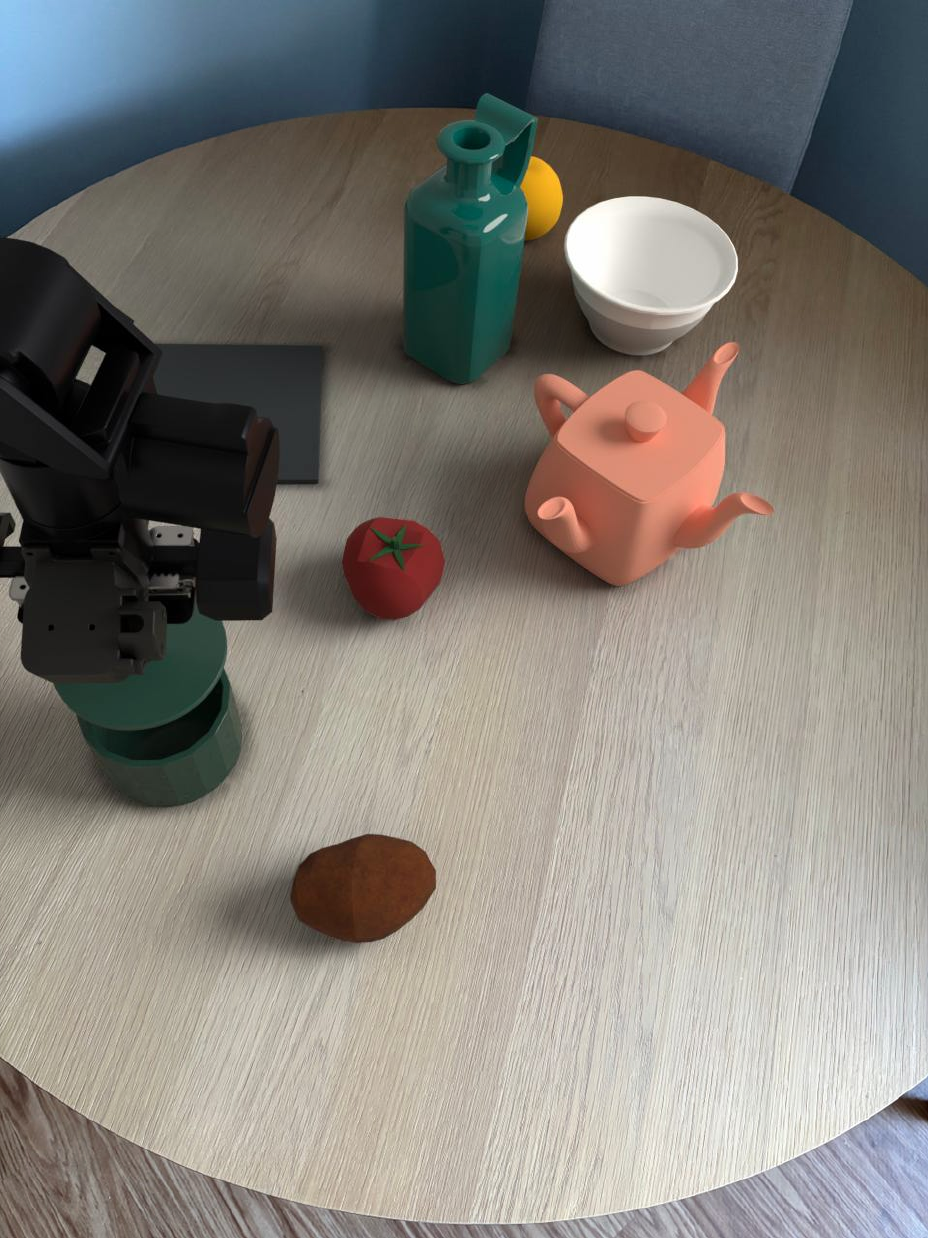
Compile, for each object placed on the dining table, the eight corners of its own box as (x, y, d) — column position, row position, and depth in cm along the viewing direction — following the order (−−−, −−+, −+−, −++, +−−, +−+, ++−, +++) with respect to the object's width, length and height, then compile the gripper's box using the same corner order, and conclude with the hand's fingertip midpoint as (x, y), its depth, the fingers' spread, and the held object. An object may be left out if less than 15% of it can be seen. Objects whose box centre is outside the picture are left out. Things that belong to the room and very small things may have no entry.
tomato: (453, 566, 86) (458, 512, 80) (421, 646, 82) (423, 595, 76) (361, 539, 87) (359, 483, 81) (325, 616, 83) (320, 564, 77)
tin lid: (40, 736, 64) (13, 694, 60) (67, 587, 70) (44, 537, 65) (222, 733, 65) (209, 691, 61) (234, 586, 71) (223, 537, 66)
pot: (732, 609, 85) (781, 516, 75) (520, 604, 84) (540, 509, 74) (702, 436, 95) (741, 332, 85) (511, 430, 94) (527, 324, 83)
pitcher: (465, 393, 96) (483, 183, 77) (393, 350, 98) (394, 135, 80) (526, 336, 100) (557, 123, 82) (456, 296, 103) (471, 80, 84)
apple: (568, 247, 108) (579, 183, 101) (494, 257, 106) (501, 192, 100) (544, 198, 112) (554, 133, 105) (473, 207, 110) (478, 142, 104)
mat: (102, 483, 88) (101, 479, 88) (125, 347, 97) (124, 342, 96) (318, 483, 90) (318, 479, 89) (322, 349, 98) (322, 344, 97)
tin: (92, 809, 73) (66, 768, 67) (110, 682, 78) (87, 634, 73) (237, 805, 74) (224, 765, 68) (245, 680, 79) (234, 633, 73)
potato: (304, 845, 73) (297, 810, 67) (437, 855, 73) (441, 822, 68) (289, 947, 69) (280, 919, 64) (430, 957, 69) (433, 931, 64)
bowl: (705, 273, 107) (728, 200, 100) (722, 387, 98) (749, 317, 91) (550, 263, 106) (561, 189, 99) (553, 377, 98) (566, 306, 91)
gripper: (-165, 621, 48) (-45, 761, 61) (250, 618, 49) (279, 756, 62) (-107, 435, 54) (-9, 600, 67) (263, 437, 55) (287, 599, 68)
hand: (135, 640), depth 66 cm, fingers closed on tin lid, 2 cm apart
